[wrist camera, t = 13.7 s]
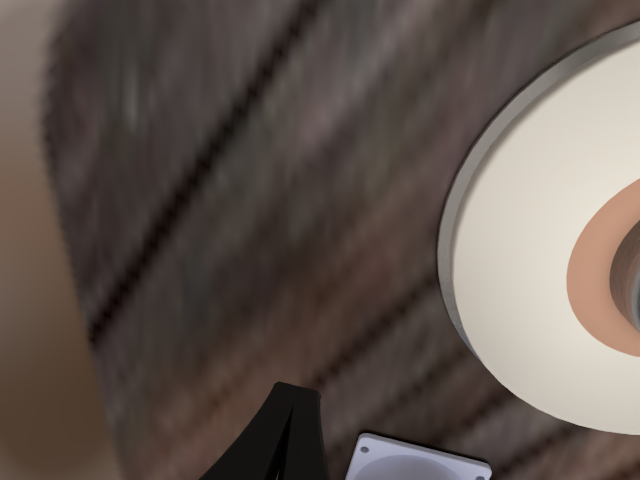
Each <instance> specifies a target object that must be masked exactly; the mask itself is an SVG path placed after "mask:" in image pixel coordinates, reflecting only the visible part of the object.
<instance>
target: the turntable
mask: <svg viewBox="0 0 640 480" xmlns="http://www.w3.org/2000/svg"><path fill="white" fill-rule="evenodd" d="M639 220H640V37H638V38H635V39H633V40H630V41H627V42H625V43H623V44H621V45H619V46H617V47H615V48H612V49H610V50H608V51H606V52H604V53H602V54H600V55H598V56H596V57H594V58H592V59H590V60H589V61H587V62H585V63H584V64H582V65H581V66H579V67H577V68H576V69H574V70H573V71H571V72H569V73H568V74H566V75H565V76H563V77H561V78H560V79H559V80H557V81H556V82H555V83H554V84H552V85H551V86H550V87H549V88H547V89H546V90H545V91H543V92H542V93H541V94H540V95H538V96H537V97H536V98H534V99H533V100H532V101H531V102H530V103H529V104H528V105H527V106H526V107H525V108H524V109H523V110H522V111H521V112H520V113H519V114H518V115H517V116H516V117H515V118H514V119H513V120H512V121H511V122H510V123H509V124H508V125H507V126H506V128H505V129H504V130H503V131H502V132H501V134H500V135H499V136H498V137H497V139H496V140H495V141H494V142H493V143H492V145H491V146H490V147H489V149H488V150H487V152H486V153H485V155H484V157H483V158H482V160H481V161H480V163H479V164H478V166H477V168H476V169H475V171H474V172H473V174H472V177H471V179H470V181H469V183H468V185H467V187H466V189H465V191H464V193H463V195H462V198H461V201H460V204H459V207H458V210H457V213H456V217H455V220H454V224H453V230H452V236H451V241H450V257H449V270H450V278H451V286H452V291H453V295H454V298H455V302H456V305H457V309H458V312H459V315H460V318H461V322H462V325H463V328H464V330H465V333H466V335H467V337H468V339H469V341H470V343H471V345H472V347H473V349H474V351H475V352H476V354H477V355H478V356H479V358H480V359H481V361H482V362H483V364H484V365H485V367H486V368H487V369H488V370H489V371H490V372H491V373H492V374H493V375H494V376H495V378H496V379H497V380H498V381H499V382H500V383H501V384H503V385H504V386H505V387H506V388H508V389H509V390H510V391H511V392H512V393H514V394H515V395H516V396H518V397H519V398H521V399H522V400H524V401H526V402H527V403H529V404H530V405H532V406H534V407H535V408H537V409H539V410H541V411H543V412H546V413H548V414H550V415H552V416H554V417H556V418H559V419H562V420H565V421H568V422H571V423H574V424H577V425H580V426H584V427H588V428H593V429H597V430H602V431H607V432H615V433H623V434H632V435H640V334H639V333H638V331H637V330H636V329H635V328H634V327H633V326H632V325H631V324H630V323H629V322H628V321H627V320H626V319H625V318H624V317H623V316H622V315H621V313H620V312H619V310H618V309H617V307H616V306H615V303H614V301H613V299H612V296H611V291H610V282H609V277H610V269H611V265H612V261H613V258H614V256H615V253H616V251H617V249H618V247H619V245H620V244H621V242H622V240H623V239H624V237H625V236H626V235H627V234H628V232H629V231H630V230H631V228H632V227H633V226H634V225H635V224H636V223H637V222H638V221H639Z"/></svg>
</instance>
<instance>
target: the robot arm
mask: <svg viewBox="0 0 640 480" xmlns="http://www.w3.org/2000/svg"><path fill="white" fill-rule="evenodd" d="M320 398H321V395H320V393H319V392H318V391H315V390H311V389H307V388H303V387H299V386H295V385H291V384H287V383H283V382H277V383H275V384H274V386H273V388H272V390H271V392H270V394H269V396H268V397H267V399H266V400H265V402H264V404H263V405H262V406H261V408H260V409H259V411H258V412H257V414H256V415H255V416H254V418H253V419H252V420H251V422H250V423H249V424H248V425H247V427H246V428H245V429H244V431H243V432H242V433H241V434H240V436H239V437H238V438H237V439H236V440H235V441H234V443H233V444H232V445H231V446H230V447H229V448H228V449H227V451H226V452H225V453H224V454H223V455H222V456H221V457H220V458H219V459H218V461H217V462H216V463H215V464H214V465H213V466H212V467H211V468H210V469H209V470H208V471H207V472H206V473H205V474H204V475H203V476H202V477H201V478H200V479H199V480H276V477H277V474H278V471H279V475H278V480H330V475H329V471H328V466H327V461H326V455H325V449H324V443H323V436H322V427H321V416H320ZM491 474H492V472H491V468H490V466H489V465H488V464H487V463H484V462H480V461H476V460H472V459H468V458H464V457H460V456H456V455H452V454H448V453H444V452H440V451H437V450H433V449H429V448H425V447H421V446H417V445H413V444H409V443H405V442H401V441H397V440H393V439H389V438H385V437H381V436H377V435H373V434H369V433H363V434H361V435H360V436H359V438H358V441H357V444H356V447H355V450H354V453H353V456H352V460H351V463H350V466H349V469H348V472H347V475H346V478H345V480H489V478H490V476H491Z"/></svg>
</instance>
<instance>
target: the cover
mask: <svg viewBox="0 0 640 480" xmlns="http://www.w3.org/2000/svg"><path fill="white" fill-rule="evenodd" d="M609 282H610V291H611V296H612V299H613V301H614V303H615V306H616V307H617V309H618V310H619V312H620V313H621V315H622V316H623V317H624V318H625V319H626V320H627V321H628V322H629V323H630V324H631V325H632V326H633V327H634V328H635V329H636V330H637V331H638V333H639V334H640V220H639V221H638V222H637V223H636V224H635V225H634V226H633V227H632V228H631V230H630V231H629V232H628V234H627V235H626V236H625V237H624V239H623V240H622V242H621V244H620V245H619V247H618V249H617V251H616V253H615V256H614V258H613V261H612V265H611V269H610V277H609Z"/></svg>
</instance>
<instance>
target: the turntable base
mask: <svg viewBox="0 0 640 480" xmlns="http://www.w3.org/2000/svg"><path fill="white" fill-rule="evenodd" d="M638 37H640V20H638V21H635V22H633V23H631V24H628V25H626V26H623V27H621V28H618V29H616V30H613V31H611V32H608V33H606V34H604V35H602V36H600V37H598V38H596V39H594V40H592V41H591V42H589V43H587V44H585V45H583V46H581V47H579V48H577V49H576V50H574V51H572V52H570V53H569V54H567V55H566V56H564V57H563V58H561V59H560V60H558V61H557V62H556V63H554V64H553V65H551V66H550V67H548V68H547V69H545V70H544V71H542V72H541V73H540V74H538V75H537V76H536V77H535V78H534V79H533V80H531V81H530V82H529V83H528V84H527V85H526V86H524V87H523V88H522V89H521V90H520V91H519V92H517V93H516V94H515V95H514V96H513V97H512V98H511V99H510V100H509V101H508V102H507V103H506V104H505V105H504V106H503V108H502V109H501V110H500V111H499V112H498V113H497V114H496V115H495V116H494V117H493V118H492V119H491V120H490V122H489V123H488V124H487V126H486V127H485V128H484V130H483V131H482V132H481V134H480V135H479V136H478V138H477V139H476V141H475V142H474V143H473V145H472V146H471V148H470V149H469V151H468V153H467V155H466V156H465V158H464V160H463V162H462V163H461V165H460V167H459V169H458V171H457V172H456V175H455V177H454V180H453V182H452V184H451V187H450V189H449V192H448V194H447V197H446V200H445V203H444V207H443V211H442V215H441V219H440V223H439V231H438V240H437V271H438V276H439V282H440V287H441V292H442V296H443V299H444V302H445V305H446V308H447V310H448V313H449V316H450V318H451V320H452V322H453V324H454V326H455V328H456V330H457V331H458V333H459V335H460V337H461V338H462V340H463V341H464V342H465V344H466V345H467V346H468V348H469V349H470V350H471V351H472V353H473V354H474V355H475V356H476V357H477V358H478V359H479V360H480V361H481V359H480V358H479V356H478V355H477V354H476V352H475V351H474V349H473V347H472V345H471V343H470V341H469V339H468V337H467V335H466V333H465V330H464V328H463V325H462V322H461V318H460V315H459V312H458V309H457V305H456V302H455V298H454V295H453V291H452V286H451V278H450V270H449V257H450V241H451V236H452V230H453V224H454V220H455V217H456V213H457V210H458V207H459V204H460V201H461V198H462V195H463V193H464V191H465V189H466V187H467V185H468V183H469V181H470V179H471V177H472V174H473V172H474V171H475V169H476V168H477V166H478V164H479V163H480V161H481V160H482V158H483V157H484V155H485V153H486V152H487V150H488V149H489V147H490V146H491V145H492V143H493V142H494V141H495V140H496V139H497V137H498V136H499V135H500V134H501V132H502V131H503V130H504V129H505V128H506V126H507V125H508V124H509V123H510V122H511V121H512V120H513V119H514V118H515V117H516V116H517V115H518V114H519V113H520V112H521V111H522V110H523V109H524V108H525V107H526V106H527V105H528V104H529V103H530V102H531V101H532V100H533V99H534V98H536V97H537V96H538V95H540V94H541V93H542V92H543V91H545V90H546V89H547V88H549V87H550V86H551V85H552V84H554V83H555V82H556V81H557V80H559V79H560V78H561V77H563V76H565V75H566V74H568V73H569V72H571V71H573V70H574V69H576V68H577V67H579V66H581V65H582V64H584V63H585V62H587V61H589V60H590V59H592V58H594V57H596V56H598V55H600V54H602V53H604V52H606V51H608V50H610V49H612V48H615V47H617V46H619V45H621V44H623V43H625V42H627V41H630V40H633V39H635V38H638ZM481 362H482V361H481ZM482 363H483V362H482Z"/></svg>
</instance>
